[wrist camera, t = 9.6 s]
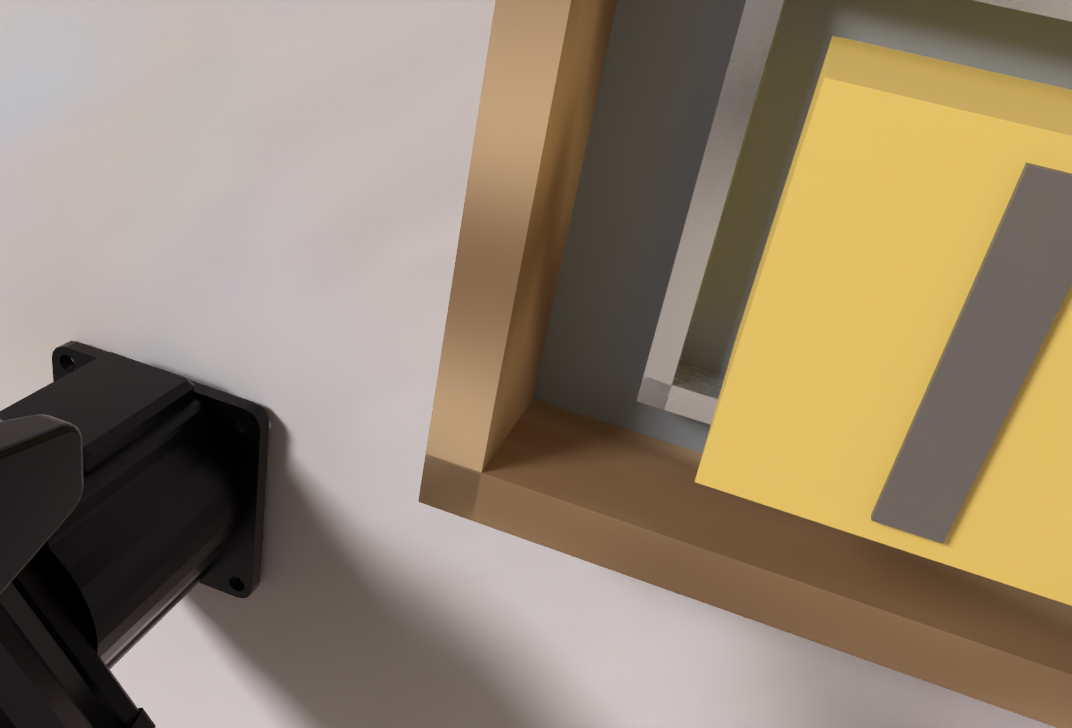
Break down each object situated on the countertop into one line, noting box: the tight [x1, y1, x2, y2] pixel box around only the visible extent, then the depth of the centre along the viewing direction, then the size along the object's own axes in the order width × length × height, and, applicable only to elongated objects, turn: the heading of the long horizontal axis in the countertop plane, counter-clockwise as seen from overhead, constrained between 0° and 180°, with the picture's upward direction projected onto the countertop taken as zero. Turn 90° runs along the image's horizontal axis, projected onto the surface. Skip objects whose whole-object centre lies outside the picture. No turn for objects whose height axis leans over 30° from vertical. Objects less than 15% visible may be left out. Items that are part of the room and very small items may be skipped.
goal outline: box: [637, 0, 1072, 425], centre depth 16 cm, size 9×9×1 cm
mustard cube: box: [695, 35, 1072, 606], centre depth 14 cm, size 6×6×6 cm
